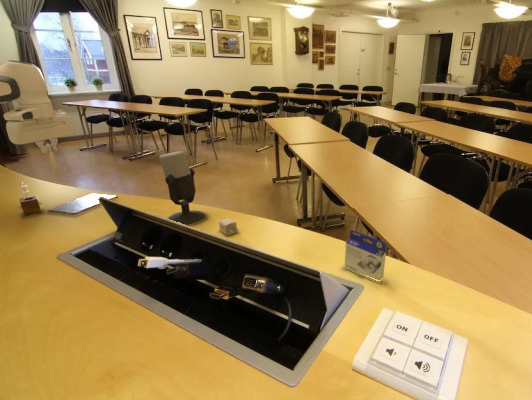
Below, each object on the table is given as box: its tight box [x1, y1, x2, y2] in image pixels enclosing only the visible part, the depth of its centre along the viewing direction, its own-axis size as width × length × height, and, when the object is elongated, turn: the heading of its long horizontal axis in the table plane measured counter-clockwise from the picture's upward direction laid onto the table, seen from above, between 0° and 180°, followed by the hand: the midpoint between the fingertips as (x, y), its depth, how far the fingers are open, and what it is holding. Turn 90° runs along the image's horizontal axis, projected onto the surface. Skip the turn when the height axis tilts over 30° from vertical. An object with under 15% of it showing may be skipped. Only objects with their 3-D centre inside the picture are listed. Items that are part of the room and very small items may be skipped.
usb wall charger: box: [218, 217, 239, 236], centre depth 107 cm, size 4×7×4 cm, turn 44°
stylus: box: [44, 143, 60, 177], centre depth 116 cm, size 1×1×12 cm
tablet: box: [47, 193, 118, 216], centre depth 129 cm, size 13×20×1 cm, turn 168°
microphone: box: [158, 150, 206, 227], centre depth 114 cm, size 13×13×25 cm
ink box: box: [343, 229, 388, 285], centre depth 85 cm, size 12×2×12 cm, turn 50°
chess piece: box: [20, 180, 31, 198], centre depth 126 cm, size 5×5×10 cm
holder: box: [19, 195, 42, 217], centre depth 119 cm, size 5×5×6 cm
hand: (49, 151), depth 115 cm, fingers closed on stylus, 1 cm apart
